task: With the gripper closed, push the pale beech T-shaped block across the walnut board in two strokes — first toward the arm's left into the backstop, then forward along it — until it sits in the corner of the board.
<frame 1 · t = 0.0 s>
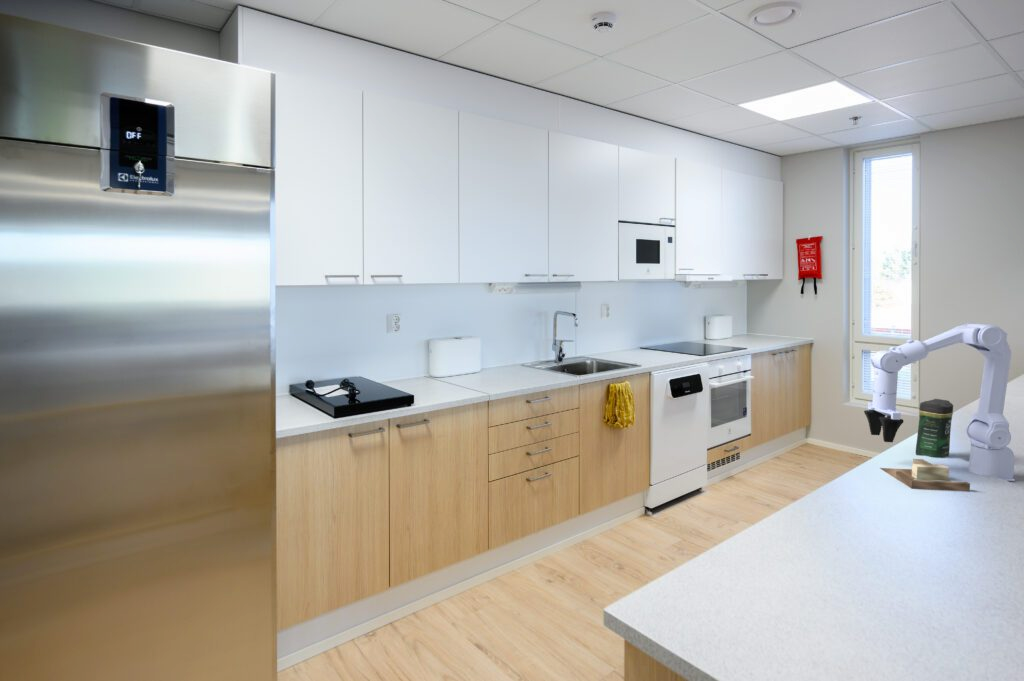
hand: (881, 438, 168), 10 cm above the counter, tool pointing down, fingers open, 7 cm apart
coffee jar: (932, 457, 183), on the counter
t block: (924, 475, 162), point 1 cm above the counter, touching board
board: (921, 483, 159), on the counter
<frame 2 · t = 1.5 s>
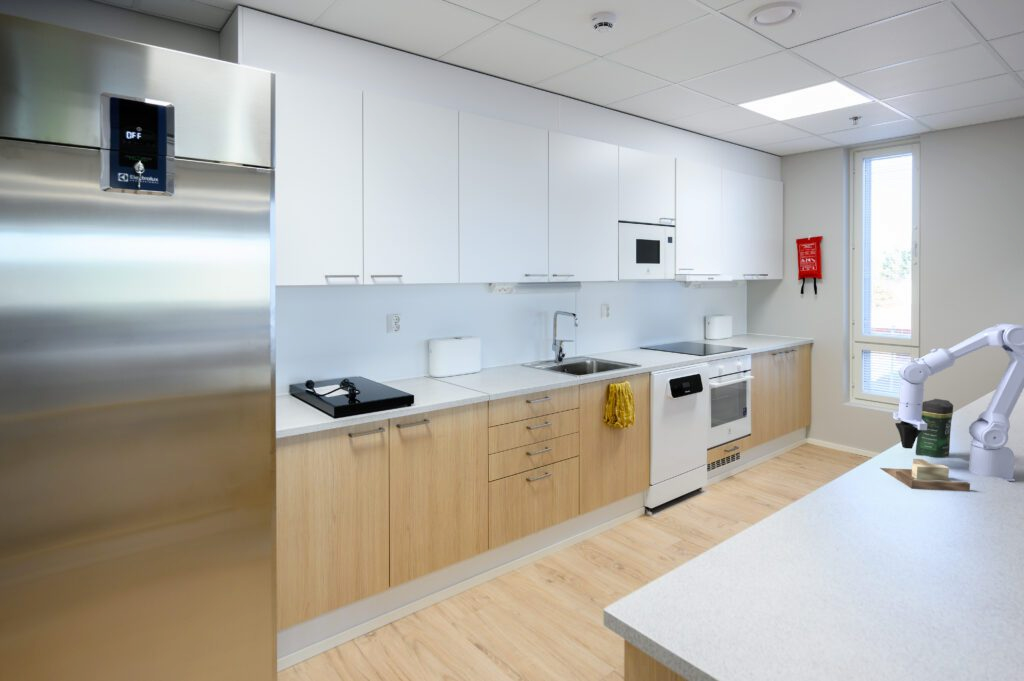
hand: (907, 447, 171), 6 cm above the counter, tool pointing down, fingers closed
nothing on the counter moved.
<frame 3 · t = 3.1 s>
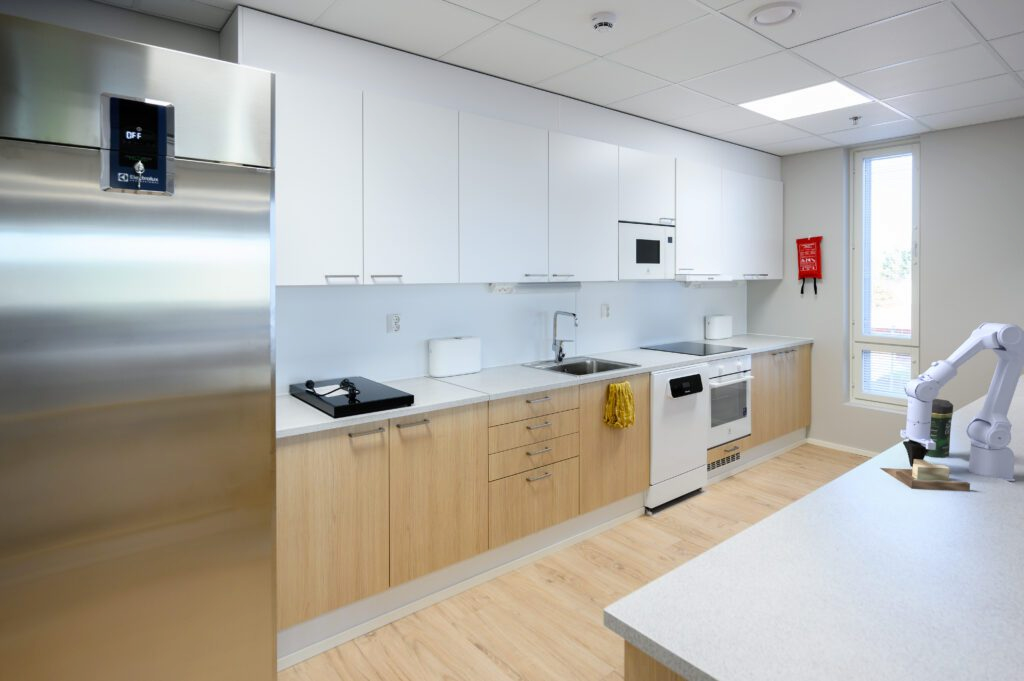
hand: (915, 466, 167), 2 cm above the counter, tool pointing down, fingers closed, pressing on t block
t block: (925, 475, 162), point 1 cm above the counter, touching board, gripper
everything else where it was.
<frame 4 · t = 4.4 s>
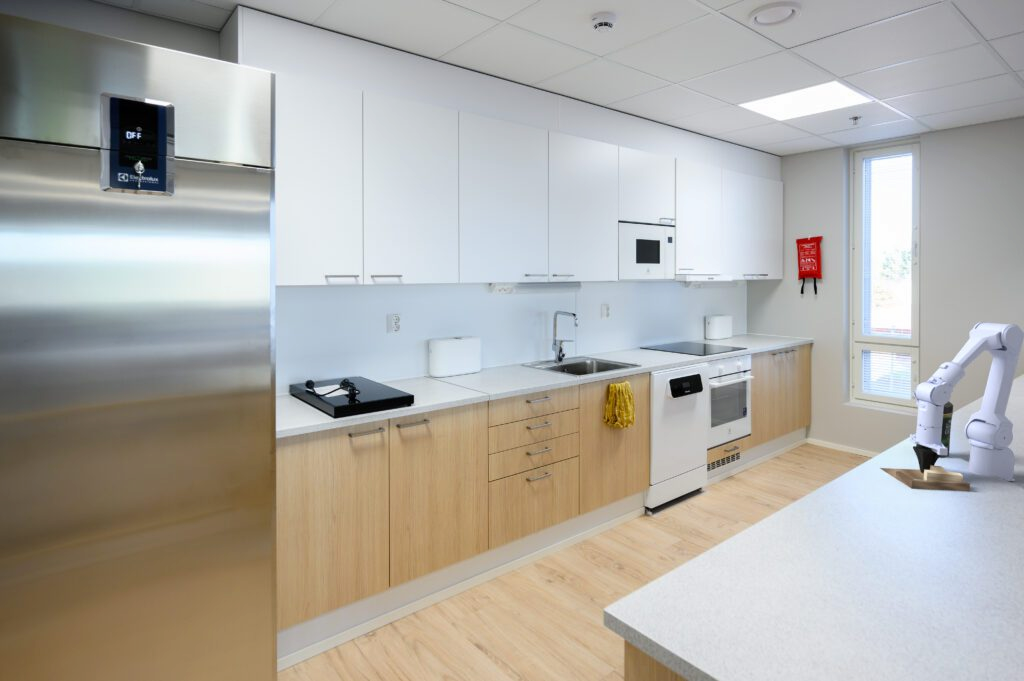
hand: (925, 472, 162), 2 cm above the counter, tool pointing down, fingers closed
t block: (939, 482, 156), point 1 cm above the counter, touching gripper
everything else where it was.
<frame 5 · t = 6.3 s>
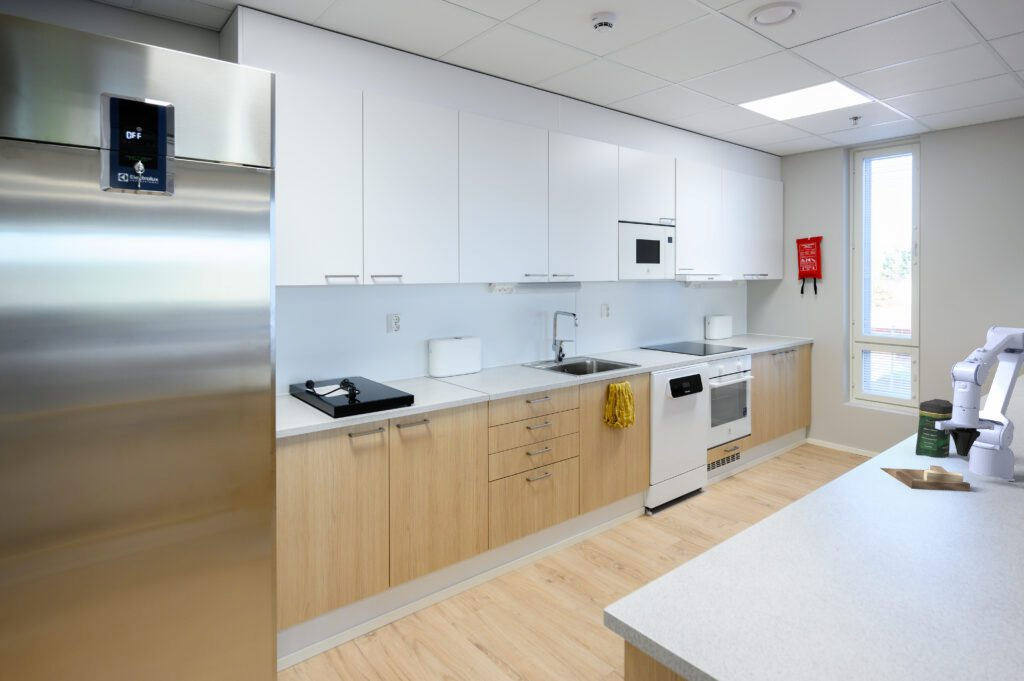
hand: (962, 455, 157), 8 cm above the counter, tool pointing down, fingers closed
t block: (939, 482, 156), point 1 cm above the counter, touching board
everything else where it was.
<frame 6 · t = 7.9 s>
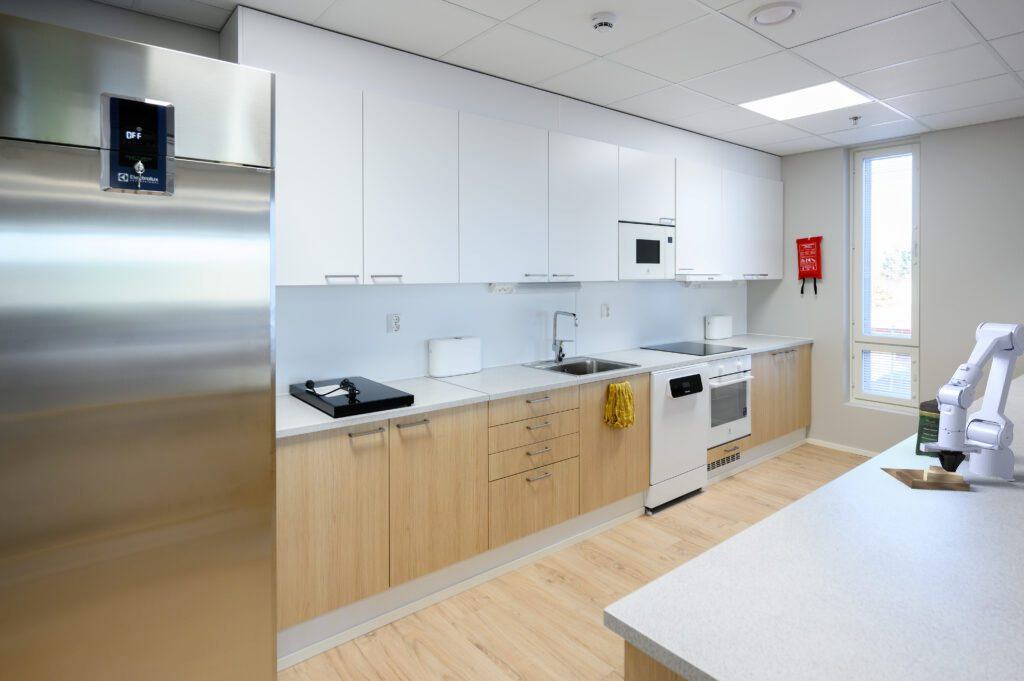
hand: (948, 477, 158), 2 cm above the counter, tool pointing down, fingers closed
t block: (938, 482, 156), point 1 cm above the counter, touching board, gripper
everything else where it was.
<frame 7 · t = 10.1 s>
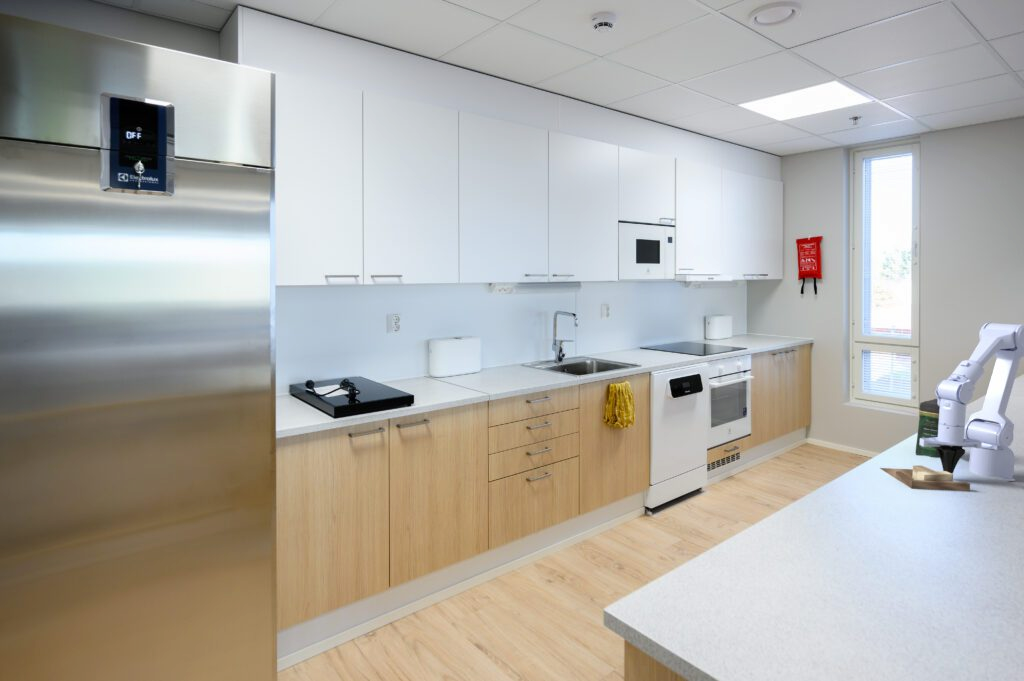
hand: (948, 472, 158), 3 cm above the counter, tool pointing down, fingers closed
t block: (926, 482, 156), point 1 cm above the counter, touching board
everything else where it was.
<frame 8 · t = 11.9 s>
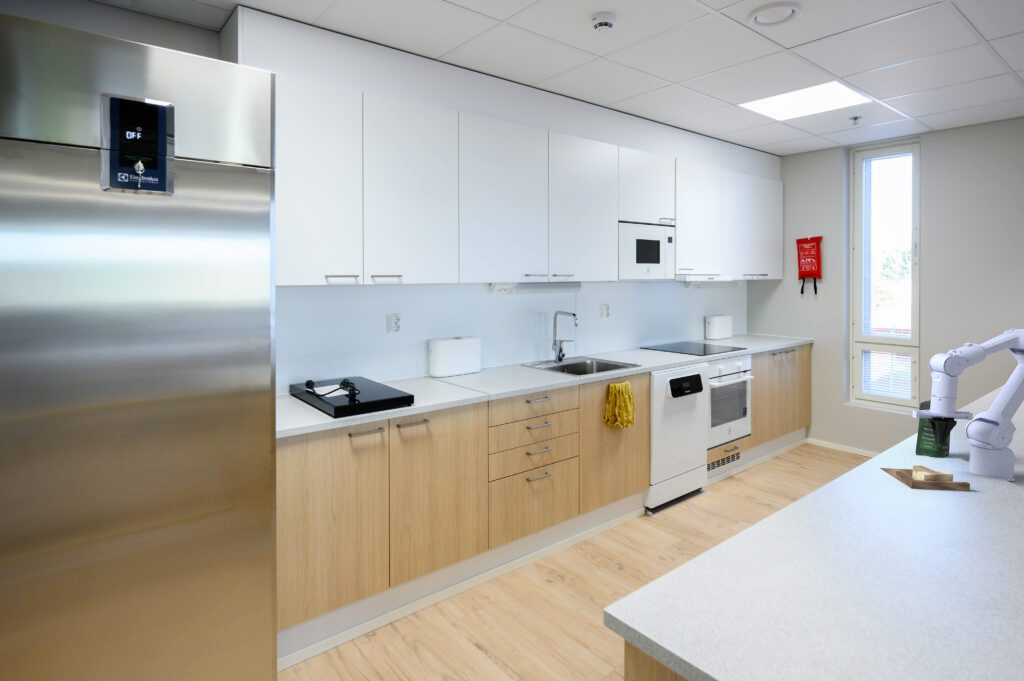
hand: (940, 443, 163), 10 cm above the counter, tool pointing down, fingers closed
nothing on the counter moved.
at the end: t block 1.6 cm from the target spot, point 1.2 cm above the counter; t block tilted 0°; t block touching board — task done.
